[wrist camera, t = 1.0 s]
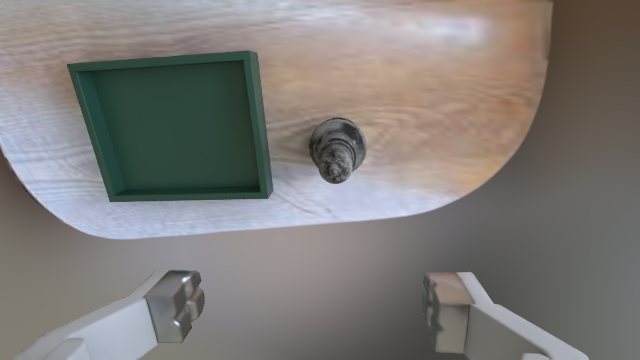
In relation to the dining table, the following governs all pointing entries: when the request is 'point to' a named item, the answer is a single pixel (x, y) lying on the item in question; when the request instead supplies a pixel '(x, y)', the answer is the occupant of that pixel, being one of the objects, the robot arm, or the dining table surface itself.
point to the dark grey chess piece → (337, 149)
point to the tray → (177, 126)
